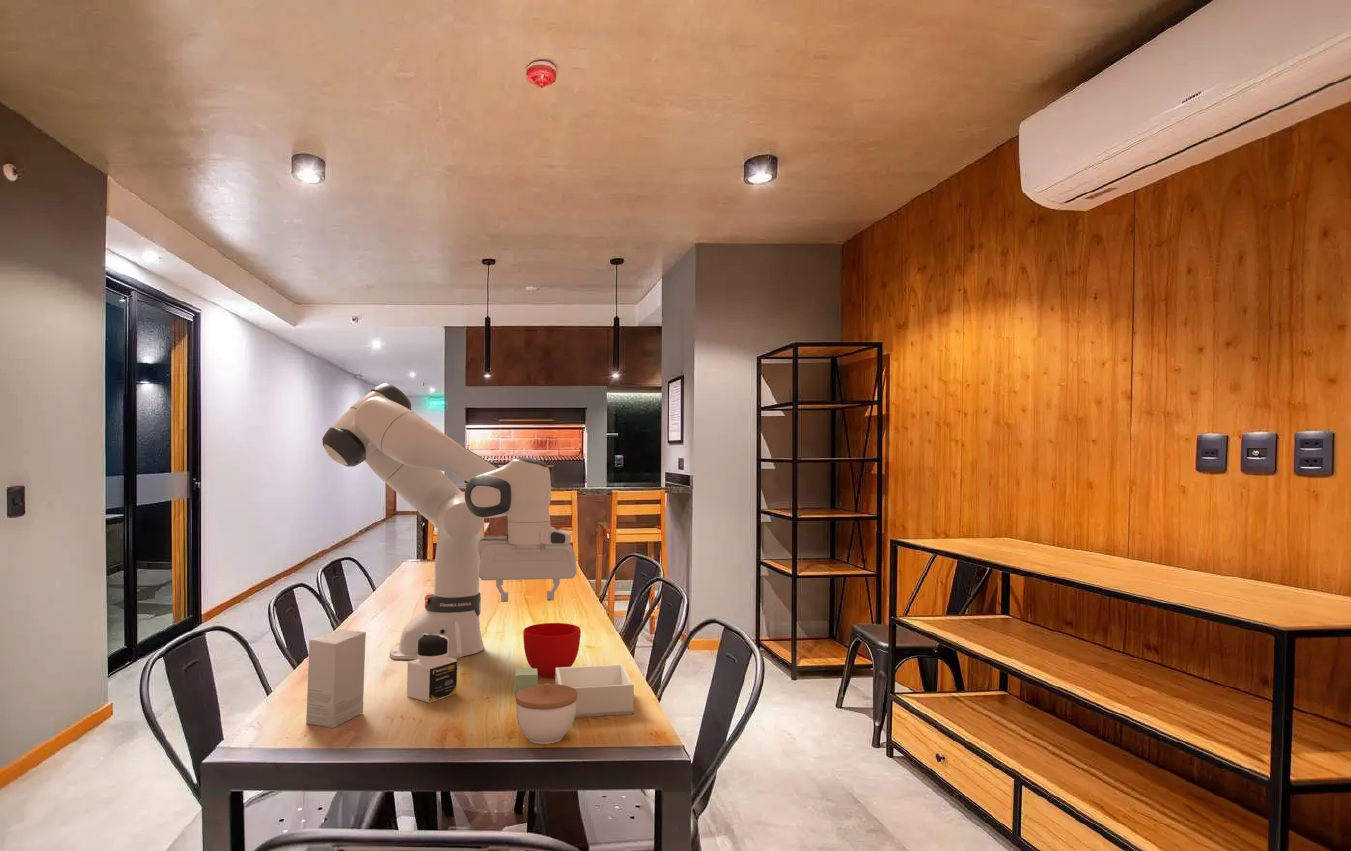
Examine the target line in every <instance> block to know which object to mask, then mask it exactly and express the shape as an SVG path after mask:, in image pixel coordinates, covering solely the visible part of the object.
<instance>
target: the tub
mask: <svg viewBox="0 0 1351 851" xmlns="http://www.w3.org/2000/svg"><path fill="white" fill-rule="evenodd" d="M554 678H555V680H554V682H555V683H554V684H559V685H565V686H569V687H572V688H574V689H575V690H576V691H577V700H576V713H575V718H586V717H587V718H588V717H589V718H590V716H591V717H602V716H603V717H604V715H606V716H619V715H618V714H622V715H633V714H634V703H635V702H634V700H635V699H634V696H635V695H634V690H635V689H634V688H635V685H634V682H633V680H632V678H631V677H630V675H629V674H628V672H627V669H626V668H625V665H624V664H622V663H621V664H604V665H600V664H599V665H585V666H584V665H583V666H582V665H581V666H571V667H559V668H556V671H555V677H554ZM632 713H633V714H632Z"/></svg>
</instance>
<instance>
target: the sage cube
mask: <svg viewBox="0 0 1351 851" xmlns="http://www.w3.org/2000/svg"><path fill="white" fill-rule="evenodd" d="M514 678H515V679H514V698H516V694H517V693H518V692H519V691H520V690H522V689H524V688H527V687H530V686H535V685H539V684H538V683H539V682H538V679H539V676H538V672H537V668H534V669H532V668H515V676H514Z"/></svg>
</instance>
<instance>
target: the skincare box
mask: <svg viewBox="0 0 1351 851" xmlns="http://www.w3.org/2000/svg"><path fill="white" fill-rule="evenodd" d="M366 636H367V632H366V631H358V630H350V629H337V630H334V631H332V632H329V633H326V634H323V635H320V636H317V637H314V638H312V639H309V641H308V642H309V643H308V664H307V666H308V667H307V669H308V670H307V693H306V719H305V721H306V722H305V724H306V725H309V726H310V725H311V726H317V727H325V728H332V729H334V728H335V727H338V726H340V725H342V724H344V723H345V722H348V721H349V720H352V719H354V718H355V717H358V716H359V715H361V714H364V693H365V692H364V690H365V664H366V663H365V658H366Z"/></svg>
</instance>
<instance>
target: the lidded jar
mask: <svg viewBox="0 0 1351 851" xmlns="http://www.w3.org/2000/svg"><path fill="white" fill-rule="evenodd" d="M576 700H577V691H576V690H575V689H574V688H572V687H569V686H565V685H559V684H555V683H550V682H546V683H543V684H538V685H535V686H530V687H527V688H524V689H522V690H520V691H519V692H518V693H517V694H516V697H515V704H516V705H515V706H516V707H515V708H516V711H515V712H516V719H517V723H518V726H519V729H520V730H521V732H522V733H523V735H524V736H526V737H527V738H528V742H531V743H532V744H537V745H550V744H551V743H552V744H556V743H559V742H560V741H562V740H563V739H564V736H565V735H566V734H567V733H568V732H569V731H570V729H571V728H572V726H573V724H574V722H575V718H576V717H575V713H576ZM552 744H551V745H552Z"/></svg>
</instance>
